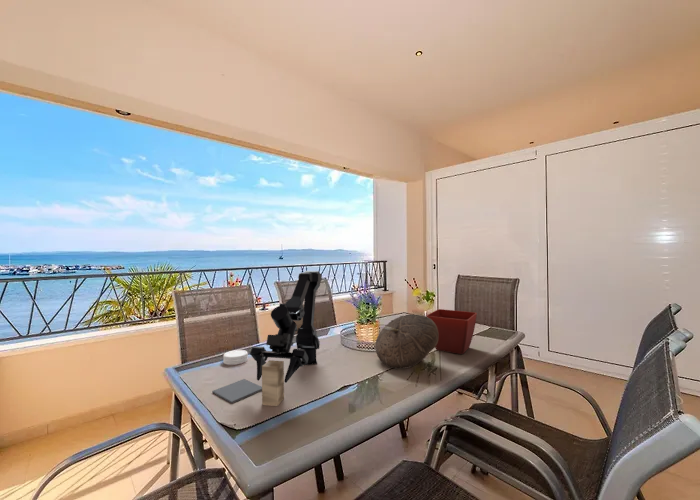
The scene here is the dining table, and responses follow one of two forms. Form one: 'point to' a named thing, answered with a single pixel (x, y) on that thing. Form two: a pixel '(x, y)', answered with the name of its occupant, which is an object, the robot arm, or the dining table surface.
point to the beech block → (272, 383)
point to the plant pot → (454, 329)
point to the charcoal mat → (237, 390)
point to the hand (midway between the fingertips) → (271, 381)
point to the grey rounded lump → (406, 341)
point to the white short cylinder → (235, 357)
